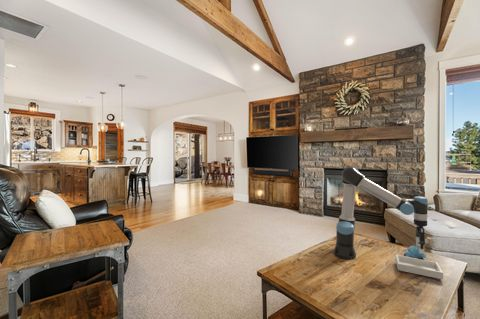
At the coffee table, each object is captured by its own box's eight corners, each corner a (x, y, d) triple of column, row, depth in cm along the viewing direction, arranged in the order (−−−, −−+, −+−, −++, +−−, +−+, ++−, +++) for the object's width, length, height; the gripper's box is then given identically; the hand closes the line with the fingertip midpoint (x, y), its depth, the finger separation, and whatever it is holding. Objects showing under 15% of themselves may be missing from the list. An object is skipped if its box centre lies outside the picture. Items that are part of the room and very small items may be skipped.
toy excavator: (436, 265, 158) (437, 240, 157) (408, 263, 161) (409, 238, 160) (428, 260, 166) (429, 236, 165) (402, 257, 170) (403, 234, 169)
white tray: (397, 272, 149) (398, 263, 149) (395, 262, 162) (396, 254, 162) (442, 281, 138) (443, 272, 138) (436, 270, 151) (437, 262, 151)
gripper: (431, 225, 150) (430, 258, 150) (423, 215, 171) (423, 244, 172) (416, 223, 153) (415, 255, 154) (411, 214, 175) (410, 242, 176)
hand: (419, 249), depth 163 cm, fingers open, 13 cm apart
